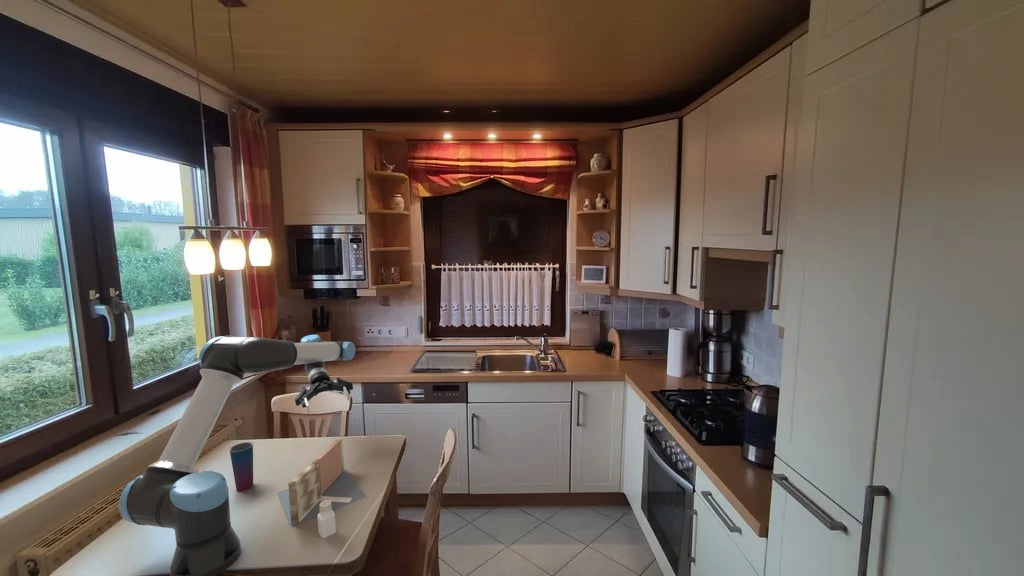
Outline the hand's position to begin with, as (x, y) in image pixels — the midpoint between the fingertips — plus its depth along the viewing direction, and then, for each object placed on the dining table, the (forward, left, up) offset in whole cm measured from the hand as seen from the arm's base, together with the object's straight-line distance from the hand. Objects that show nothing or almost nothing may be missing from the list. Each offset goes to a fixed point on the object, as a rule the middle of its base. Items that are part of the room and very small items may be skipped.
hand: (328, 403), depth 148 cm
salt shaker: (-10, -32, -27) cm, 44 cm away
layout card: (-7, -12, -27) cm, 30 cm away
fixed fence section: (-13, -17, -27) cm, 34 cm away
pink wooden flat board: (-2, -7, -26) cm, 27 cm away
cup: (-26, +11, -27) cm, 40 cm away
